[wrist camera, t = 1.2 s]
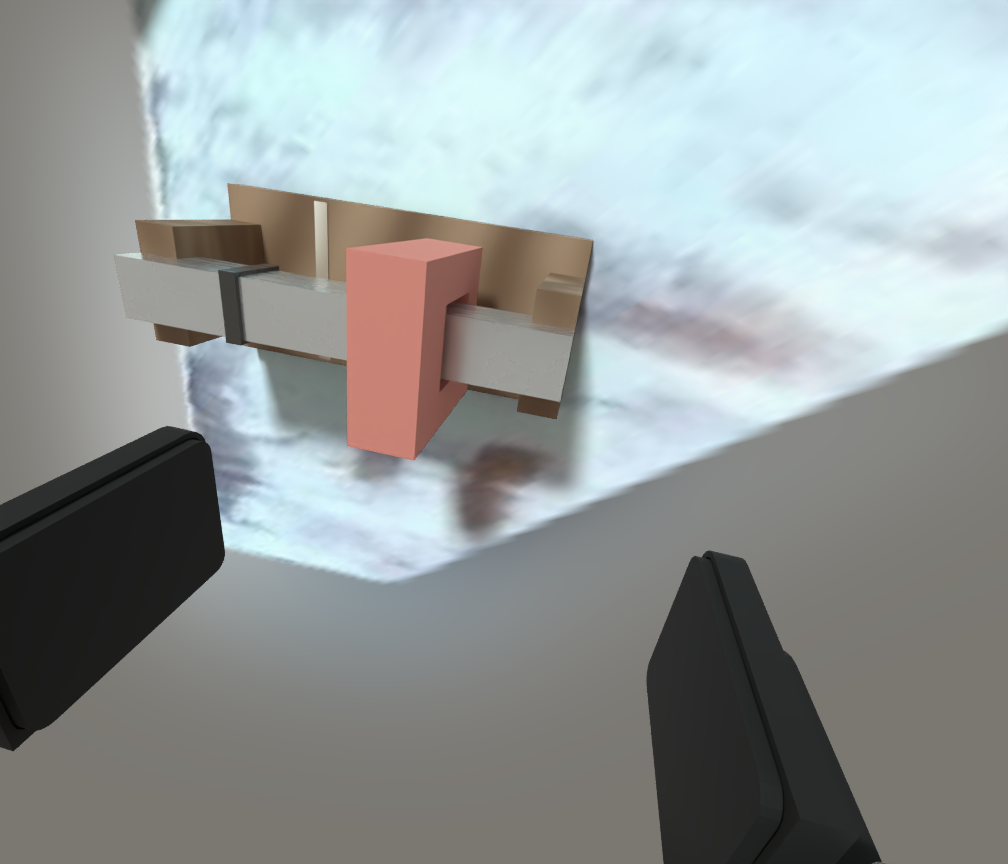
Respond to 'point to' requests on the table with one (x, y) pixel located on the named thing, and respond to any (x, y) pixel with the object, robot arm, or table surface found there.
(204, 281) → the rod
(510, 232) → the pipe stand
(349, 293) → the salmon pink rectangular block
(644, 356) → the table surface
